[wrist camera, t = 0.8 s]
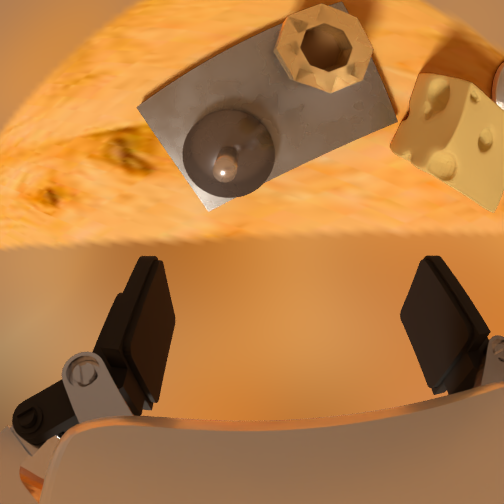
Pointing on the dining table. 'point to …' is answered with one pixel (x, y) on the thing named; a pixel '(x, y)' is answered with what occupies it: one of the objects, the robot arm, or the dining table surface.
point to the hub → (228, 153)
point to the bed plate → (267, 106)
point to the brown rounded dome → (320, 48)
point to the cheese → (455, 137)
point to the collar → (345, 34)
